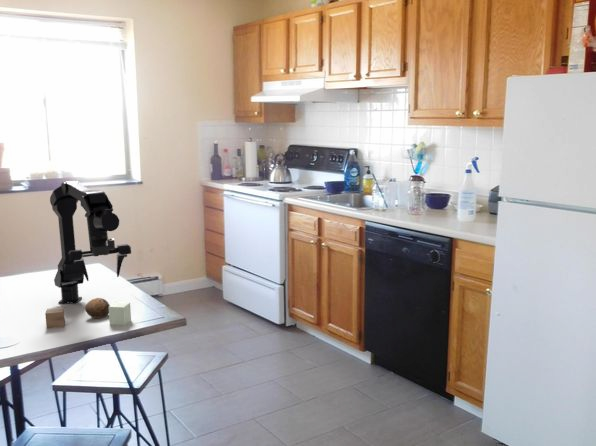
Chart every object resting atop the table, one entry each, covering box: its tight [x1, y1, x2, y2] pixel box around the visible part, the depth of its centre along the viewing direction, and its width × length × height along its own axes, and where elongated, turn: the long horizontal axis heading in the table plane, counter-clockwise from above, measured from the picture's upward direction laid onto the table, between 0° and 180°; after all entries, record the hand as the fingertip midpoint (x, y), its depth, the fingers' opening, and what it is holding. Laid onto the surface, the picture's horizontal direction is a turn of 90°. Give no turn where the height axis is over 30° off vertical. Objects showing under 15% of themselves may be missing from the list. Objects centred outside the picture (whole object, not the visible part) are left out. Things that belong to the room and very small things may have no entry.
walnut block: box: [44, 306, 66, 329], centre depth 185 cm, size 5×5×5 cm
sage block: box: [108, 301, 132, 326], centre depth 187 cm, size 5×5×6 cm
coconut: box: [84, 297, 111, 319], centre depth 193 cm, size 8×8×6 cm
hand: (103, 278), depth 187 cm, fingers open, 9 cm apart
